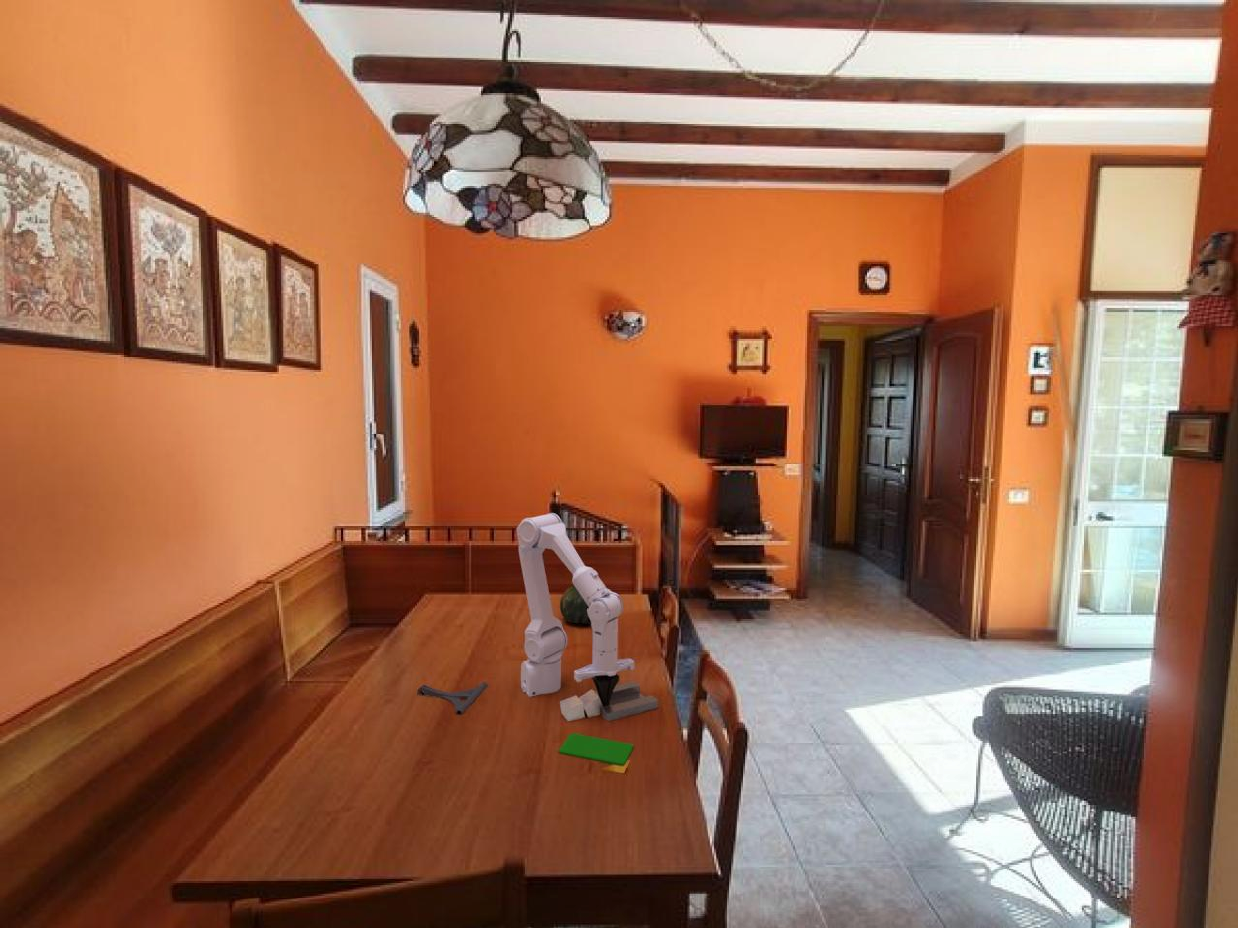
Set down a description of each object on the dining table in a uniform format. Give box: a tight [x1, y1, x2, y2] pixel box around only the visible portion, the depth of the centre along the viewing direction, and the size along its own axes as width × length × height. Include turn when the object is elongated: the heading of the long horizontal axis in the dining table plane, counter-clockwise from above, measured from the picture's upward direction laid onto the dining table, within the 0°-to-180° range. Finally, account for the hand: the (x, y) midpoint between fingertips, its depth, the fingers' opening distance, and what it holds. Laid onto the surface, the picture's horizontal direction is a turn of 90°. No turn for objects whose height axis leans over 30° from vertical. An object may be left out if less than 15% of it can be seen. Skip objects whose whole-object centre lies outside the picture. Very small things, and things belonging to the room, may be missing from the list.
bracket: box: [416, 681, 488, 715], centre depth 145 cm, size 14×15×3 cm
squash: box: [559, 584, 591, 626], centre depth 196 cm, size 14×15×15 cm
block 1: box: [559, 695, 586, 722], centre depth 134 cm, size 4×4×4 cm
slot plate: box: [585, 680, 659, 722], centre depth 140 cm, size 13×11×3 cm
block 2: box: [578, 688, 604, 718], centre depth 136 cm, size 4×4×4 cm
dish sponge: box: [558, 733, 635, 774], centre depth 121 cm, size 7×14×2 cm, turn 73°
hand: (604, 704), depth 137 cm, fingers closed
